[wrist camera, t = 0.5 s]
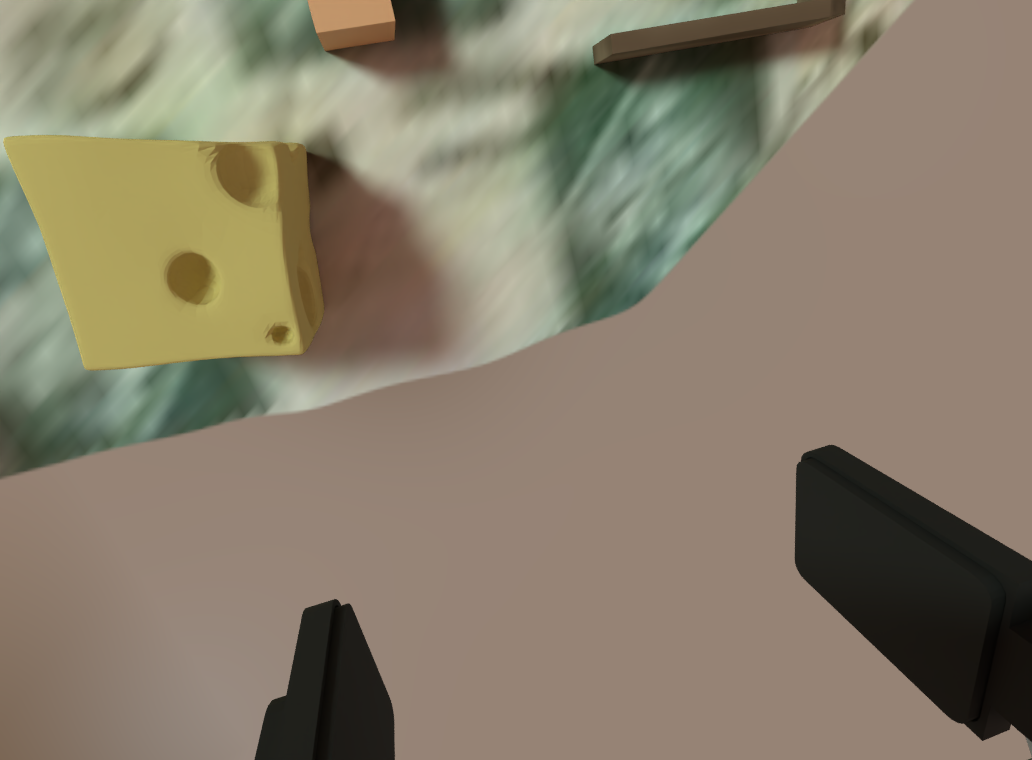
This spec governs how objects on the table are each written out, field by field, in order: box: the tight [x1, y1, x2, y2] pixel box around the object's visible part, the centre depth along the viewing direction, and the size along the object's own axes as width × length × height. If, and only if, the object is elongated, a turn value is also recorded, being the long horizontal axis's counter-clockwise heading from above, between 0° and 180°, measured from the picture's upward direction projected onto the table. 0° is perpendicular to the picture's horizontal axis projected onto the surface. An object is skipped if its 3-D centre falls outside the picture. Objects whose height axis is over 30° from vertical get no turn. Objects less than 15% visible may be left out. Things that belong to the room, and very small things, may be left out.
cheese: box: [3, 135, 324, 370], centre depth 28 cm, size 10×11×10 cm
